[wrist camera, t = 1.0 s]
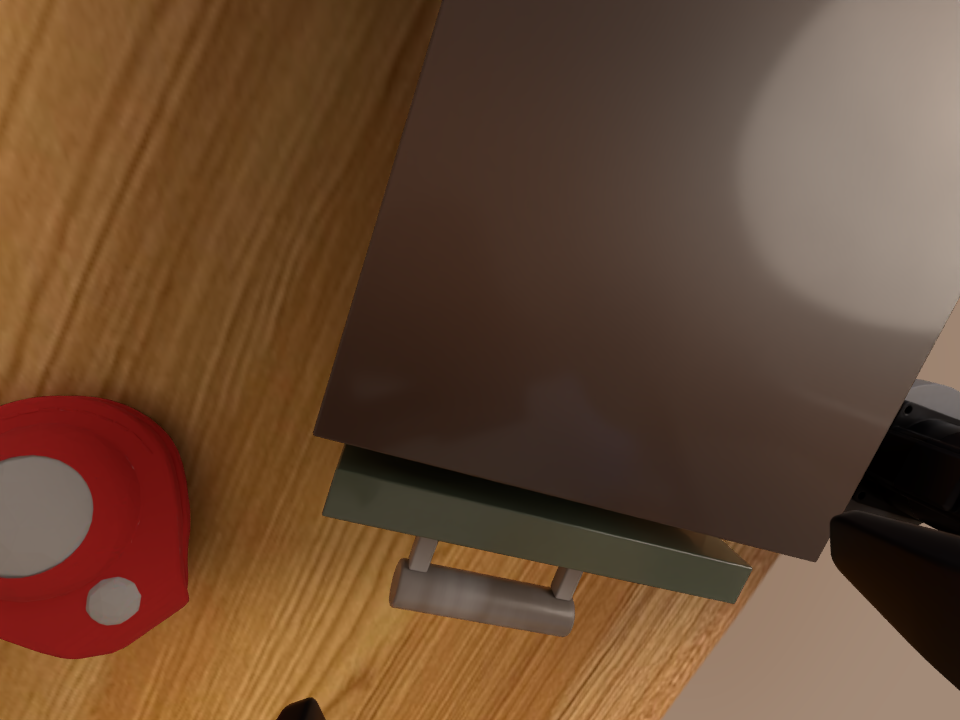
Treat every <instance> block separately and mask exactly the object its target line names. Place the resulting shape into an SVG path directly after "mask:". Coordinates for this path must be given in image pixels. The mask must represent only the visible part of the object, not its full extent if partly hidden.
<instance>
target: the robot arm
mask: <svg viewBox="0 0 960 720" xmlns="http://www.w3.org/2000/svg"><path fill="white" fill-rule="evenodd" d="M851 499H852V500H853V501H855V502H857V503H860V504H863V505H867V506H870V507H873V508H877V509H880V510H883V511H887V512H890V513H893V514H897V515H900V516H903V517H907V518H910V519H913V520H917V521H920V522H923V523H925V524H927V525H929V526H931V527H933V528H935V529H937V530H935V529H931V528H927V527H922V526H919V525H915V524H911V523H907V522H903V521H899V520H895V519H891V518H887V517H883V516H879V515H875V514H871V513H867V512H863V511H858V510H852V511H848V512H845V513H842V514H839V515H836V516H834V517H832V519H831V520H830V544H831V545H830V547H831V556H832V560H833V562H834V564H835V565H836V567H837V568H838V570H839V571H840V572H841V573H842V574H843V575H844V576H845V577H846V578H847V579H848V580H849V581H850V582H851V583H852V584H853V586H854V587H855V588H856V589H857V590H858V591H859V592H860V593H861V594H862V595H863V596H864V597H865V598H866V599H867V600H868V601H869V602H870V603H871V604H872V605H873V606H874V607H875V608H876V609H877V610H878V611H879V612H880V614H881V615H883V617H884V618H885V619H886V620H887V621H888V622H889V623H890V624H891V625H892V626H893V627H894V628H895V629H896V630H897V631H898V632H899V633H900V634H901V635H902V636H903V637H904V638H905V639H906V640H907V642H908V643H910V644H911V646H913V647H914V648H915V649H916V650H917V651H918V652H919V653H920V654H921V655H922V656H923V657H924V658H925V659H926V660H927V661H928V662H929V663H930V664H931V665H932V666H933V667H934V668H935V669H936V670H937V671H939V672H940V673H941V674H942V675H943V676H944V677H945V678H946V679H947V680H949V681H950V682H951V683H952V684H953V685H954V686H955V687H956V688H957V689H958V690H960V420H958V419H956V418H953V417H951V416H948V415H945V414H943V413H940V412H937V411H935V410H932V409H930V408H927V407H924V406H922V405H919V404H916V403H914V402H911V401H907V400H904V401H903V403H902V405H901V407H900V409H899V411H898V412H897V414H896V416H895V418H894V420H893V422H892V423H891V425H890V427H889V429H888V431H887V433H886V435H885V436H884V438H883V440H882V442H881V444H880V446H879V447H878V449H877V451H876V453H875V455H874V457H873V458H872V460H871V462H870V464H869V466H868V468H867V470H866V471H865V473H864V475H863V477H862V479H861V481H860V482H859V484H858V486H857V488H856V490H855V492H854V493H853V495H852V497H851ZM276 720H326V719H325V717H324V715H323V713H322V711H321V709H320V707H319V705H318V703H317V701H316V700H315V699H314V698H312V697H311V698H306V699H303V700H300V701H297V702H294V703H291V704H289V705H288V706H286V707H285V708H284V709H283V710H282V712H281V713H280V715H279V716H278V718H277V719H276Z"/></svg>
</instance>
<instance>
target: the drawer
mask: <svg viewBox="0 0 960 720" xmlns="http://www.w3.org/2000/svg"><path fill="white" fill-rule="evenodd" d="M322 515H323V516H326V517H330V518H335V519H340V520H344V521H349V522H354V523H358V524H363V525H368V526H372V527H377V528H382V529H386V530H391V531H396V532H400V533H405V534H410V535H414V536H416V538H415V541H414V544H413V546H412V549H411V552H410V555H409V559H407V558H401V559H400V560H399V562H398V564H397V566H396V568H395V572H394V575H393V579H392V583H391V588H390V595H389V603H390V606H391V607H393V608H399V609H405V610H411V611H416V612H422V613H428V614H433V615H439V616H445V617H451V618H456V619H462V620H468V621H473V622H479V623H485V624H491V625H496V626H502V627H508V628H513V629H519V630H525V631H531V632H536V633H542V634H548V635H553V636H559V637H565V636H567V635H568V634H569V633H570V632H571V630H572V627H573V624H574V619H575V607H574V601H573V598H572V596H573V594H574V591H575V589H576V587H577V585H578V582H579V580H580V578H581V576H582V573H583V572H587V573H592V574H596V575H601V576H606V577H610V578H615V579H620V580H624V581H629V582H634V583H638V584H643V585H648V586H653V587H657V588H662V589H667V590H671V591H676V592H681V593H685V594H690V595H695V596H699V597H704V598H709V599H713V600H718V601H723V602H727V603H732V604H734V603H735V602H736V600H737V598H738V596H739V594H740V592H741V590H742V589H743V587H744V585H745V583H746V581H747V579H748V577H749V575H750V573H751V571H752V567H751V566H750V565H749V564H748V563H746V562H745V561H744V560H743V559H742V558H741V557H740V556H739V555H738V554H737V553H735V552H734V551H733V550H732V549H731V548H730V547H729V546H728V545H727V544H726V543H725V542H723V541H722V540H721V539H720V538H717V537H713V536H709V535H705V534H701V533H697V532H693V531H689V530H685V529H681V528H677V527H673V526H669V525H665V524H661V523H658V522H654V521H650V520H646V519H642V518H638V517H634V516H630V515H626V514H622V513H618V512H614V511H610V510H606V509H602V508H598V507H594V506H590V505H586V504H582V503H578V502H574V501H570V500H566V499H563V498H559V497H555V496H551V495H547V494H543V493H539V492H535V491H531V490H527V489H523V488H519V487H515V486H511V485H507V484H503V483H499V482H495V481H491V480H487V479H483V478H479V477H475V476H471V475H468V474H464V473H460V472H456V471H452V470H448V469H444V468H440V467H436V466H432V465H428V464H424V463H420V462H416V461H412V460H408V459H404V458H400V457H396V456H392V455H388V454H384V453H380V452H376V451H373V450H369V449H365V448H361V447H357V446H353V445H349V444H344V447H343V450H342V453H341V456H340V459H339V462H338V464H337V467H336V470H335V474H334V477H333V480H332V483H331V486H330V490H329V493H328V496H327V499H326V502H325V506H324V509H323V512H322ZM438 541H442V542H447V543H452V544H456V545H461V546H466V547H470V548H475V549H480V550H484V551H489V552H494V553H498V554H503V555H508V556H512V557H517V558H522V559H526V560H531V561H536V562H540V563H545V564H550V565H554V566H558V569H557V571H556V573H555V576H554V578H553V581H552V583H551V587H546V586H541V585H536V584H531V583H526V582H521V581H516V580H511V579H506V578H501V577H496V576H491V575H486V574H481V573H476V572H471V571H466V570H461V569H456V568H451V567H446V566H441V565H436V564H431V563H430V562H431V559H432V557H433V554H434V551H435V549H436V546H437V543H438Z"/></svg>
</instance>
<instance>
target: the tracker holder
mask: <svg viewBox="0 0 960 720" xmlns="http://www.w3.org/2000/svg"><path fill="white" fill-rule="evenodd" d="M189 535H190V505H189V497H188V489H187V481H186V477H185V472H184V468H183V463H182V460H181V458H180V455H179V452H178V449H177V448H176V446H175V444H174V442H173V441H172V439H171V437H170V436H169V435H168V434H167V433H166V432H165V431H164V430H163V429H162V428H161V427H160V426H159V425H158V424H156V423H155V422H154V421H153V420H152V419H151V418H149V417H148V416H146V415H144V414H143V413H141V412H139V411H138V410H135V409H133V408H131V407H129V406H127V405H124V404H121V403H118V402H115V401H112V400H108V399H103V398H98V397H88V396H42V397H34V398H28V399H23V400H19V401H15V402H11V403H8V404H4V405H2V406H0V639H3V640H5V641H8V642H11V643H14V644H17V645H20V646H23V647H25V648H28V649H31V650H34V651H37V652H40V653H44V654H48V655H52V656H55V657H59V658H65V659H81V658H87V657H93V656H99V655H105V654H110V653H113V652H116V651H118V650H120V649H122V648H125V647H126V646H128V645H129V644H131V643H132V642H134V641H135V640H137V639H138V638H140V637H141V636H142V635H144V634H145V633H147V632H148V631H150V630H151V629H152V628H154V627H155V626H157V625H158V624H160V623H161V622H162V621H164V620H165V619H167V618H168V617H170V616H171V615H172V614H174V613H175V612H177V611H178V610H180V609H181V608H183V607H184V606H185V605H186V604H187V603H188V602H189V595H188V590H187V587H188V543H189Z"/></svg>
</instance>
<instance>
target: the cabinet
mask: <svg viewBox="0 0 960 720" xmlns="http://www.w3.org/2000/svg"><path fill="white" fill-rule="evenodd" d="M959 298H960V0H442V2H441V6H440V9H439V12H438V16H437V19H436V22H435V26H434V29H433V32H432V36H431V39H430V42H429V46H428V49H427V52H426V56H425V59H424V62H423V66H422V69H421V72H420V76H419V79H418V83H417V86H416V89H415V93H414V96H413V99H412V103H411V106H410V109H409V113H408V116H407V119H406V123H405V126H404V129H403V133H402V136H401V139H400V143H399V146H398V149H397V153H396V156H395V160H394V163H393V166H392V170H391V173H390V176H389V180H388V183H387V186H386V190H385V193H384V196H383V200H382V203H381V206H380V210H379V213H378V216H377V220H376V223H375V226H374V230H373V233H372V237H371V240H370V243H369V247H368V250H367V253H366V257H365V260H364V263H363V267H362V270H361V273H360V277H359V280H358V283H357V287H356V290H355V293H354V297H353V300H352V303H351V307H350V310H349V314H348V317H347V320H346V324H345V327H344V330H343V334H342V337H341V340H340V344H339V347H338V350H337V354H336V357H335V360H334V364H333V367H332V370H331V374H330V377H329V380H328V384H327V387H326V391H325V394H324V397H323V401H322V404H321V407H320V411H319V414H318V417H317V421H316V424H315V427H314V431H313V435H314V436H317V437H321V438H325V439H329V440H333V441H337V442H341V443H345V444H349V445H353V446H357V447H361V448H365V449H369V450H373V451H376V452H380V453H384V454H388V455H392V456H396V457H400V458H404V459H408V460H412V461H416V462H420V463H424V464H428V465H432V466H436V467H440V468H444V469H448V470H452V471H456V472H460V473H464V474H468V475H471V476H475V477H479V478H483V479H487V480H491V481H495V482H499V483H503V484H507V485H511V486H515V487H519V488H523V489H527V490H531V491H535V492H539V493H543V494H547V495H551V496H555V497H559V498H563V499H566V500H570V501H574V502H578V503H582V504H586V505H590V506H594V507H598V508H602V509H606V510H610V511H614V512H618V513H622V514H626V515H630V516H634V517H638V518H642V519H646V520H650V521H654V522H658V523H661V524H665V525H669V526H673V527H677V528H681V529H685V530H689V531H693V532H697V533H701V534H705V535H709V536H713V537H717V538H721V539H725V540H729V541H733V542H737V543H741V544H745V545H749V546H753V547H756V548H760V549H764V550H768V551H772V552H776V553H780V554H784V555H788V556H792V557H796V558H800V559H804V560H808V561H812V562H816V561H817V560H818V558H819V556H820V554H821V552H822V551H823V549H824V547H825V545H826V543H827V541H828V539H829V538H830V520H831V519H832V517H834V516H836V515H839V514H842V513H843V512H844V510H845V508H846V506H847V505H848V503H849V501H850V499H851V497H852V495H853V493H854V492H855V490H856V488H857V486H858V484H859V482H860V481H861V479H862V477H863V475H864V473H865V471H866V470H867V468H868V466H869V464H870V462H871V460H872V458H873V457H874V455H875V453H876V451H877V449H878V447H879V446H880V444H881V442H882V440H883V438H884V436H885V435H886V433H887V431H888V429H889V427H890V425H891V423H892V422H893V420H894V418H895V416H896V414H897V412H898V411H899V409H900V407H901V405H902V403H903V401H904V399H905V398H906V396H907V394H908V392H909V390H910V388H911V387H912V385H913V383H914V381H915V379H916V377H917V375H918V373H919V372H920V370H921V368H922V366H923V364H924V362H925V361H926V359H927V357H928V355H929V353H930V351H931V350H932V348H933V346H934V344H935V342H936V340H937V339H938V337H939V335H940V333H941V331H942V329H943V328H944V326H945V324H946V322H947V320H948V318H949V317H950V315H951V313H952V311H953V309H954V307H955V305H956V304H957V302H958V300H959Z"/></svg>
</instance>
